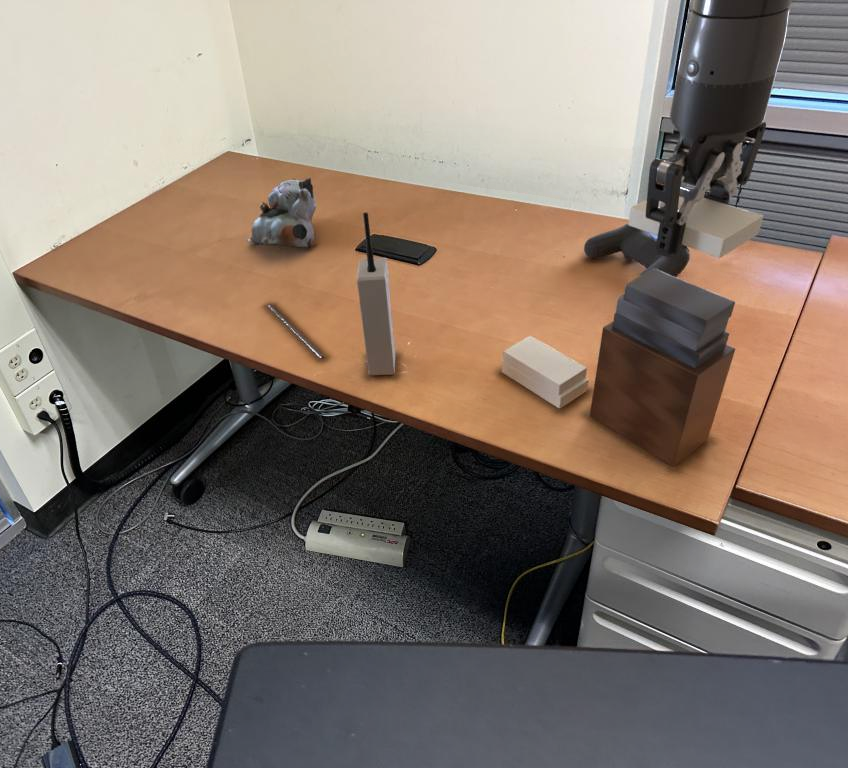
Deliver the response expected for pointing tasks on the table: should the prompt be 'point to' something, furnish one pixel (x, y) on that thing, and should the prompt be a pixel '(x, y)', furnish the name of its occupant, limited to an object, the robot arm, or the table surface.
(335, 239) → the table surface
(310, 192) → the lucky cat figurine
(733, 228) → the white book
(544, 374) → the white stack
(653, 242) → the gaming controller
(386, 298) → the vintage mobile phone
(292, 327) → the rod
